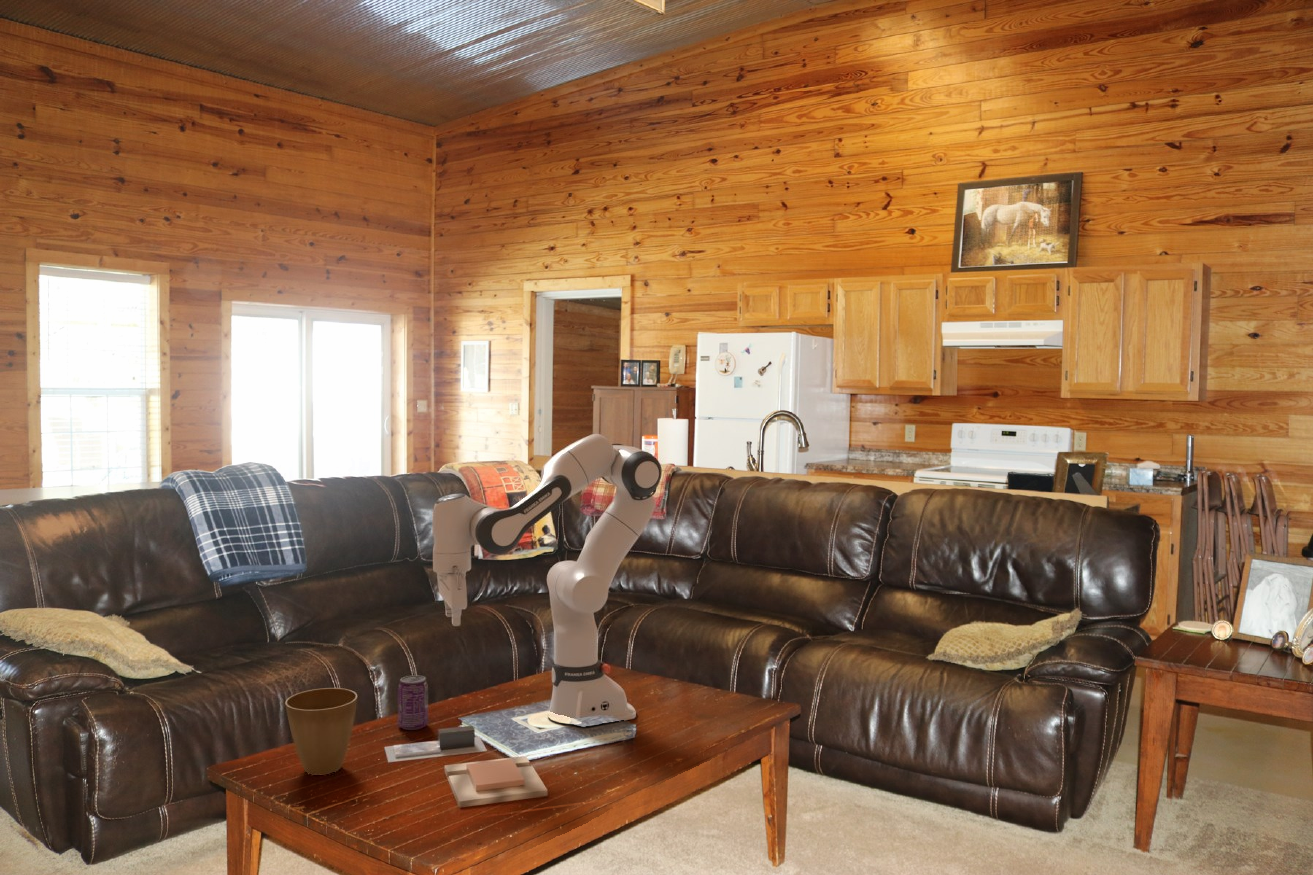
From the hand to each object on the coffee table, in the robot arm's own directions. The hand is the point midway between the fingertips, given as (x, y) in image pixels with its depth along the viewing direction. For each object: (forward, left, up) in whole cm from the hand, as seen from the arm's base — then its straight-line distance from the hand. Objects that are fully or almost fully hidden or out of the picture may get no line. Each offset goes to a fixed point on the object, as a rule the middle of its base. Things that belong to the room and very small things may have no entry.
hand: (452, 620), depth 240 cm
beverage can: (+8, -11, -29) cm, 32 cm away
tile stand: (-4, +31, -28) cm, 42 cm away
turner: (+5, +7, -28) cm, 29 cm away
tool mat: (+5, +7, -28) cm, 30 cm away
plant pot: (+30, +11, -29) cm, 43 cm away
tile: (-4, +25, -26) cm, 36 cm away
